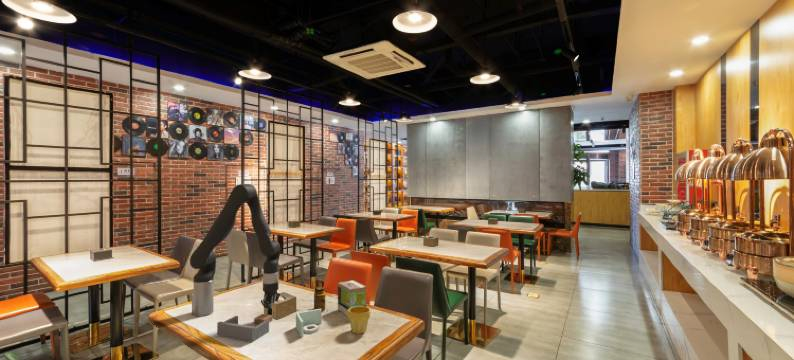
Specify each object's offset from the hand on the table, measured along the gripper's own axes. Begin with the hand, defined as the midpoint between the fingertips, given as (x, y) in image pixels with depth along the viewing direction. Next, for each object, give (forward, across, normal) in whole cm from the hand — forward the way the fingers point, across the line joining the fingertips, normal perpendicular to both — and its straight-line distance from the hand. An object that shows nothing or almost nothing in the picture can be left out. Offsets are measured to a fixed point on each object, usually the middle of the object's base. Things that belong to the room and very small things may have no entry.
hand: (270, 315), depth 175 cm
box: (+2, +18, 0) cm, 19 cm away
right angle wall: (+2, +6, +27) cm, 28 cm away
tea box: (+2, -20, +36) cm, 41 cm away
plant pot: (+2, 0, +49) cm, 49 cm away
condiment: (+2, -16, +18) cm, 24 cm away
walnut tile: (+2, +6, 0) cm, 6 cm away
